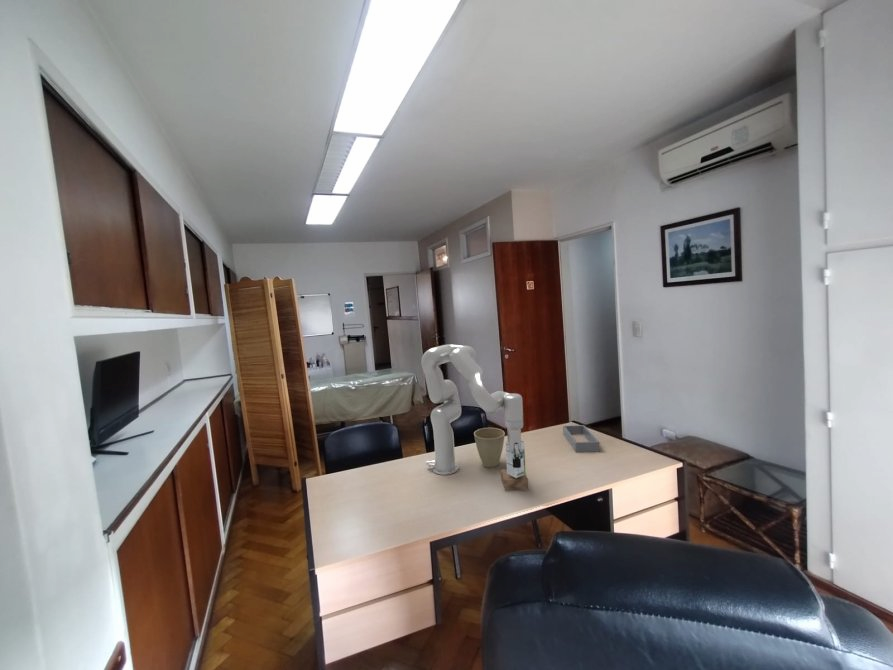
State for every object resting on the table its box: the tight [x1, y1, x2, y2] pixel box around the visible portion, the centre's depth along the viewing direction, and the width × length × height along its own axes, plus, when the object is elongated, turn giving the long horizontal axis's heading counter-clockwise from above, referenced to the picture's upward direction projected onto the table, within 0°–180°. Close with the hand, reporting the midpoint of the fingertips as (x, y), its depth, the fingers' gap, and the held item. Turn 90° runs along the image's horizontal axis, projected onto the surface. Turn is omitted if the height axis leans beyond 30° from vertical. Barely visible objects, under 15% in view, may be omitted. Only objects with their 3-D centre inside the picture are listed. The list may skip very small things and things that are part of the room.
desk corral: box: [562, 424, 601, 453], centre depth 206 cm, size 12×26×5 cm, turn 176°
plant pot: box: [473, 427, 506, 468], centre depth 185 cm, size 15×15×16 cm
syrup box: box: [504, 440, 527, 478], centre depth 161 cm, size 6×6×14 cm
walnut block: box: [500, 468, 529, 492], centre depth 165 cm, size 10×10×5 cm
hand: (515, 462), depth 162 cm, fingers closed on syrup box, 7 cm apart
